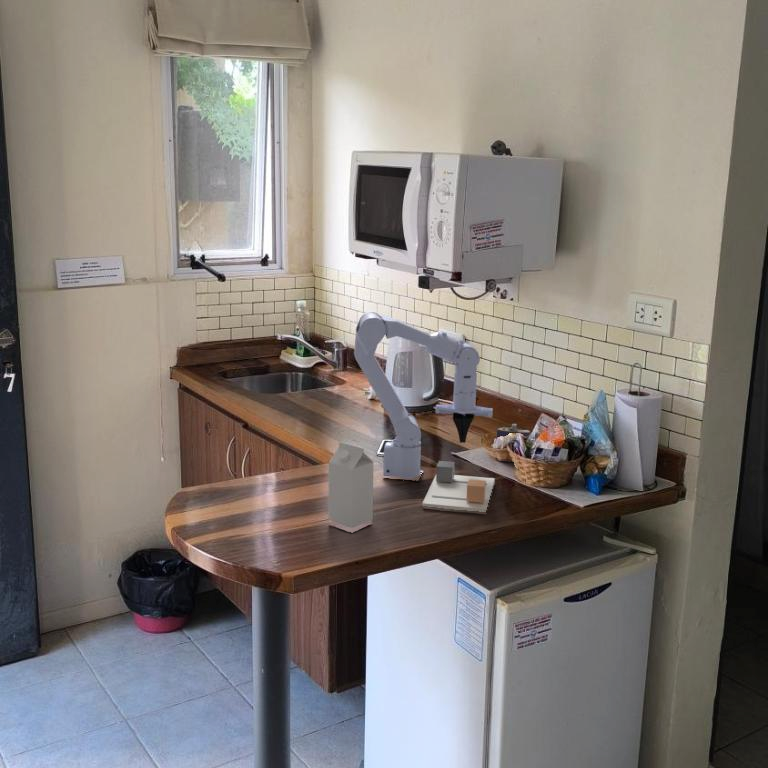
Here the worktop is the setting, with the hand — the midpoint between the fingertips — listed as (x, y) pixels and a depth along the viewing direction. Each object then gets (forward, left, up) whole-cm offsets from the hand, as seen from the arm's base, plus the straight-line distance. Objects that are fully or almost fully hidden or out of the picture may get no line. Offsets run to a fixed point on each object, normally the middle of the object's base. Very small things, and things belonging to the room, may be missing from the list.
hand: (462, 441), depth 239 cm
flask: (+12, +16, -10) cm, 22 cm away
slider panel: (+2, -15, -9) cm, 18 cm away
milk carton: (-20, -40, -10) cm, 46 cm away
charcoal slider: (-3, -9, -8) cm, 12 cm away
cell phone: (-22, +18, -10) cm, 30 cm away
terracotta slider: (+6, -21, -8) cm, 23 cm away
